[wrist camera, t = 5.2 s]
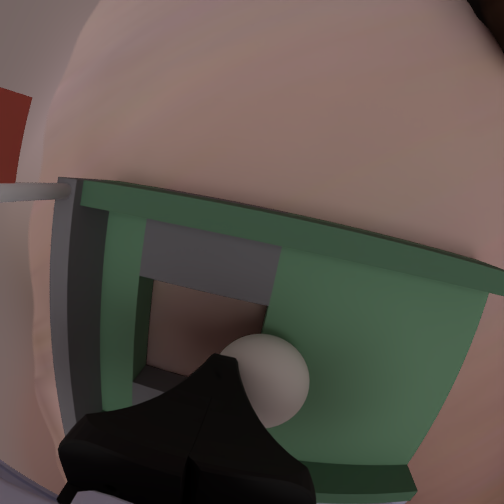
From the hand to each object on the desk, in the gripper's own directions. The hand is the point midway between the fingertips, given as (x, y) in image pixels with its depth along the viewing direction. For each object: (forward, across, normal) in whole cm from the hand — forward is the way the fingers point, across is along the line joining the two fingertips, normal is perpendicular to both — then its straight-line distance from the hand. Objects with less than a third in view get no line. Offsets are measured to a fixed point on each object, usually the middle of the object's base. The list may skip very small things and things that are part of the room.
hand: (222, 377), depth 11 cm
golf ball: (+1, -2, 0) cm, 2 cm away
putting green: (+5, -2, 0) cm, 5 cm away
